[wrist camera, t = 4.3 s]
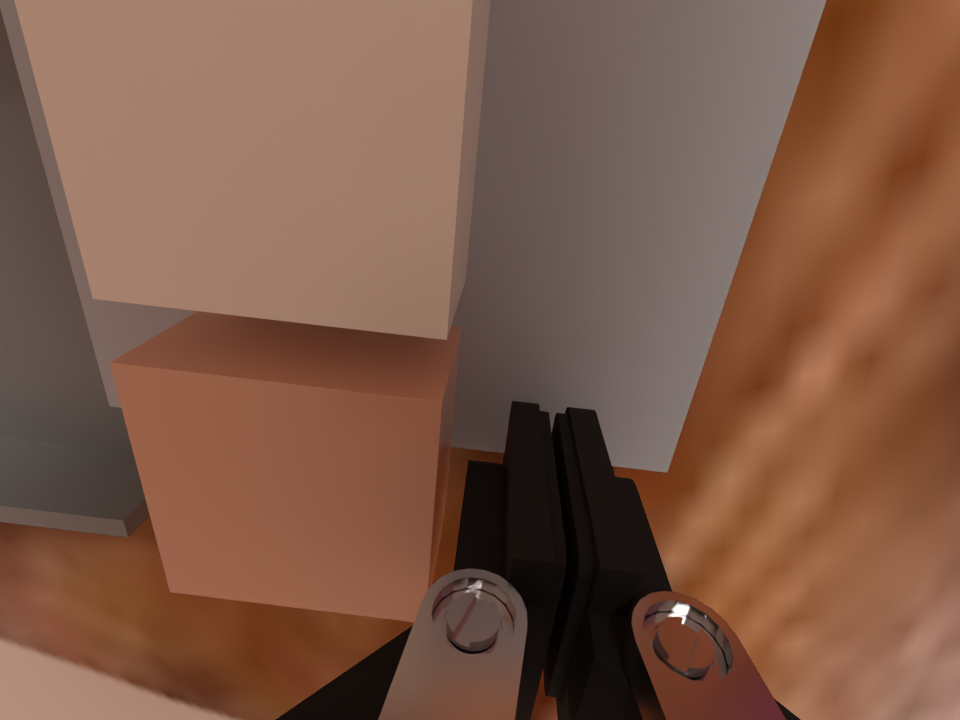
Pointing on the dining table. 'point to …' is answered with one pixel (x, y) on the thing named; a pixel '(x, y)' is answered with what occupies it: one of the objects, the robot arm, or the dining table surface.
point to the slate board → (580, 208)
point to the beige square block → (268, 152)
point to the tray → (50, 359)
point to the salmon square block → (293, 460)
